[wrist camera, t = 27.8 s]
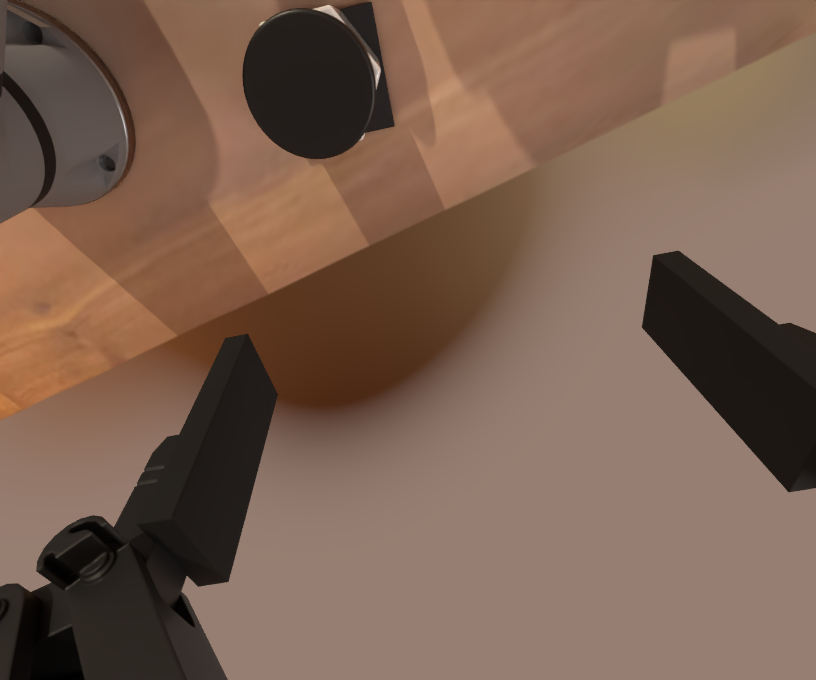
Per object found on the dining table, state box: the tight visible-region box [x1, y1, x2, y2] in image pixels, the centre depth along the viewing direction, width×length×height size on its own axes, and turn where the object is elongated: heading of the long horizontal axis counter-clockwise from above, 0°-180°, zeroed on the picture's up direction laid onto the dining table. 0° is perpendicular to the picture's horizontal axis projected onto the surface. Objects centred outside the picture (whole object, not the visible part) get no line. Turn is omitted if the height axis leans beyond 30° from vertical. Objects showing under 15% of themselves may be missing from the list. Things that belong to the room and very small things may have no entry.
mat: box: [339, 2, 394, 133], centre depth 37 cm, size 9×9×1 cm
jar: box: [243, 5, 381, 159], centre depth 32 cm, size 9×8×12 cm
